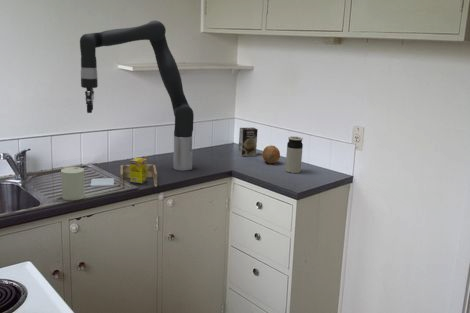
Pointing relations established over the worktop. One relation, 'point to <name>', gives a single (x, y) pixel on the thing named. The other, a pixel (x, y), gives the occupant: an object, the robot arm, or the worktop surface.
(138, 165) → the supplement box
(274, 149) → the onion
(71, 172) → the can
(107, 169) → the worktop surface
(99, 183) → the pad
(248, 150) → the coffee box
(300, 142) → the travel mug
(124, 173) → the open wooden frame
